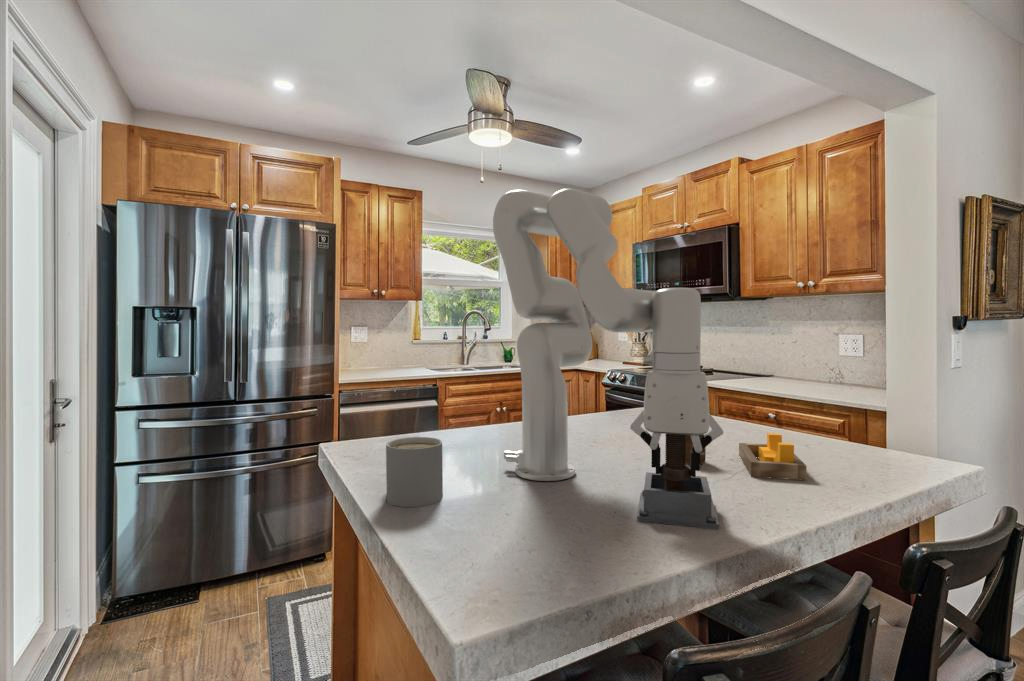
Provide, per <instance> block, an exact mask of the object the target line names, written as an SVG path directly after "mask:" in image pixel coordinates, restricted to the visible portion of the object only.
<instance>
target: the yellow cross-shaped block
mask: <svg viewBox="0 0 1024 681" xmlns="http://www.w3.org/2000/svg"><path fill="white" fill-rule="evenodd" d="M782 436H783V435H782V434H781V433H774V432H773V433H772V432H767V433H766V444H767V447H759V458H758V461H759V460H760V461H770V462H786V463H794V454H795V444H793V443H791V442H783V437H782Z"/></svg>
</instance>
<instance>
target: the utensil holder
mask: <svg viewBox="0 0 1024 681" xmlns="http://www.w3.org/2000/svg"><path fill="white" fill-rule="evenodd" d="M704 435H705V434H703V435H699V439H700V438H702V437H703V436H704ZM685 437H686V438H685V439H686V440H685V441H686V442H685V443H686V444H685V445H686V446H685V447H686V448H685V449H686V450H685V451H686V452H685V453H686V454H685V455H686V456H685V457H686V458H685V459H686V460H685V465H688V466H690V449H692V445H693V442H692V439H691V435H686V436H685ZM706 447H707V446H706ZM706 447H705V448H704V449H703V450H702V452H700V466H701V465H703V464H705V462H706V455H707V454H706V451H707V450H706Z"/></svg>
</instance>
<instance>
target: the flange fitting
mask: <svg viewBox="0 0 1024 681" xmlns="http://www.w3.org/2000/svg"><path fill="white" fill-rule="evenodd" d="M665 481H666V480H665V479H664V478H663V477H662V476H661V475H660V473H659V474H656V472H647V471H646V472H645V479H644V486H643V490H642V492H640V495H639V501H638V508H637V514H636V515H637V516H636V522H640V523H642V522H643V523H651V524H660V525H661V524H662V525H672V526H681V527H682V526H683V527H690V528H700V529H701V528H702V529H709V530H720V523H719V520H718V516H717V511H716V509H715V508H716V507H715V505H714V500H713V498H712V492H711V489H710V485H709V482H708V477H707V476H697V475H696V477H692V476H691V478H690V479H689V480H687V481H685V491H678V490H666V488H665V487H666V486H665V485H666V484H665V483H666V482H665Z"/></svg>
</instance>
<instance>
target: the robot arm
mask: <svg viewBox="0 0 1024 681" xmlns="http://www.w3.org/2000/svg"><path fill="white" fill-rule="evenodd" d="M612 221H613V210H612V207H611V206H610V204H609V202H608V201H607V200H606V199H605V198H603V197H602V196H601V195H598V194H594V193H590V192H586V191H582V190H579V189H575V188H562V189H560V190H558V191H556V192H554V193H553V194H552V195H547V194H543V193H539V192H535V191H530V190H525V189H513V190H510V191H507V192H505V193H504V194H502V196H500V197H499V199H498V201H497V202H496V206H495V208H494V211H493V218H492V232H493V236H494V239H495V242H496V243H495V244H496V245H497V248H498V251H499V253H500V255H501V260H502V262H503V265H504V268H505V273H506V278H507V282H508V286H509V290H510V293H511V294H510V295H511V299H512V302H513V305H514V309H515V311H516V313H517V315H519V316H520V317H522V318H524V319H528V320H539V321H540V320H542V321H543V320H546V321H550V322H537V323H532V324H530V325H527V326H526V327H524V328H523V329H522V330H521V331H520V333H519V335H518V337H517V341H516V352H517V358H518V364H519V369H520V377H521V406H522V410H521V411H522V412H521V414H522V415H521V417H522V418H521V423H522V424H521V425H522V427H521V428H522V430H521V431H522V438H521V440H522V441H521V442H522V443H521V444H522V446H521V447H522V448H521V449H520V450H518V451H514V450H504V452H503V459H504V461H505V462H509V463H516V464H517V465H515V469H514V470H515V472H514V473H515V474H516V475H517V476H518V477H519V478H522V479H525V480H526V479H527V480H530V481H535V482H537V481H539V482H555V481H561V480H562V481H563V480H566V479H570V478H572V477H574V476H575V474H576V467H575V466H574V465H573V464H571V463H569V462H568V461H569V460H568V458H569V457H568V455H569V453H568V452H569V451H568V450H569V447H568V445H569V443H568V441H569V440H568V436H569V435H568V434H569V433H568V432H569V431H568V430H569V428H568V426H569V424H568V423H569V422H568V421H569V420H568V415H569V414H568V412H569V411H568V410H569V409H568V386H567V383H566V379H565V377H564V375H563V372H562V370H561V368H564V367H565V368H567V367H569V368H570V367H575V366H580V365H582V364H585V363H586V362H587V361H588V359H589V358H590V356H591V354H592V350H593V337H592V333H591V330H590V326H589V323H588V318H587V314H586V310H585V307H586V308H587V311H588V312H589V313H590V315H591V316H592V318H593V319H594V320H595V322H596V323H598V325H599V326H600V327H601V328H603V329H604V330H607V331H608V332H611V333H634V334H635V333H637V334H638V333H639V334H640V333H652V338H651V339H652V340H651V341H652V344H651V347H652V348H651V349H652V352H651V354H648V355H643V362H642V363H643V364H644V365H649V366H650V367H651V368H652V369H651V370H649V371H647V374H646V378H645V384H644V393H643V394H644V396H643V410H641V412H640V413H638V416H637V417H635V419H634V420H633V422H631V424H630V427H629V429H630V430H631V431H632V432H633V433H635V434H636V435H637V436H639V438H641V439H642V441H644V443H645V444H647V446H648V447H649V448H650V450H651V468H655V473H656V474H659V473H660V466H661V447H660V443H659V442H660V440H661V436H662V434H665V435H666V434H680V435H691V439H692V442H693V445H692V449H690V465H689V468H690V469H691V476H692V477H696V476H697V473H696V472H700V471H701V465H700V452H702V450H703V449H704V448H705V447H707V446H708V445H710V444H711V443H712V442H713V441H715V440H716V439H718V438H719V437H721V436H723V434H724V430H723V428H722V427H721V425H720V424H719V423H718V422H717V420H715V418H714V417H713V416H712V414H711V413H710V397H709V386H708V381H707V375H706V373H705V372H704V371H701V336H702V335H701V333H702V332H701V331H702V330H701V328H702V327H701V326H702V325H701V320H702V319H701V318H702V316H701V314H702V312H701V306H702V305H701V304H702V303H701V302H702V301H701V300H702V299H701V294H700V292H699V290H697V289H695V288H693V287H666V288H665V287H664V288H660V289H658V290H647V289H638V288H626V287H622V286H621V285H620V284H619V282H618V281H617V279H616V278H615V276H614V275H613V273H612V272H611V270H610V268H609V267H608V264H607V263H608V261H610V260H611V259H612V258H613V256H614V255H615V253H616V251H617V249H618V240H617V238H616V237H615V235H614V233H612V231H611V230H610V227H611V225H612V223H613V222H612ZM530 233H531V234H536V235H543V236H549V237H557V238H560V240H561V241H562V243H563V245H564V246H565V247H566V249H567V250H568V251H569V253H570V255H571V257H572V258H573V260H574V261H575V263H576V264H577V265H576V266H577V267H576V270H575V271H576V272H575V280H576V286H575V284H574V283H573V282H572V281H570V280H569V279H566V278H564V277H557V276H551V275H549V274H548V271H547V269H546V266H545V261H544V258H543V254H542V252H541V250H540V248H539V247H538V246H537V244H536V242H535V241H534V240H533V239H532V237H531V236H530ZM584 305H585V307H584ZM681 413H682V414H683V416H681ZM681 418H683V419H681ZM642 424H643V426H644V427H642ZM710 429H711V430H710ZM709 430H710V431H709ZM649 432H650V433H652V434H650V433H649ZM703 434H704V436H703V437H702V438H700V439H699V435H703Z"/></svg>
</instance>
